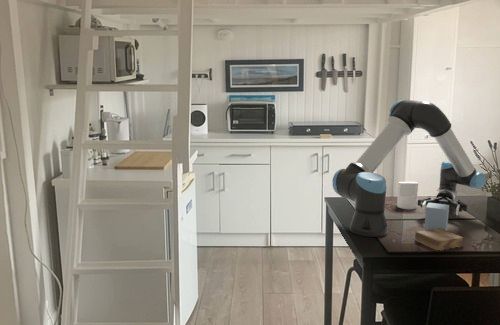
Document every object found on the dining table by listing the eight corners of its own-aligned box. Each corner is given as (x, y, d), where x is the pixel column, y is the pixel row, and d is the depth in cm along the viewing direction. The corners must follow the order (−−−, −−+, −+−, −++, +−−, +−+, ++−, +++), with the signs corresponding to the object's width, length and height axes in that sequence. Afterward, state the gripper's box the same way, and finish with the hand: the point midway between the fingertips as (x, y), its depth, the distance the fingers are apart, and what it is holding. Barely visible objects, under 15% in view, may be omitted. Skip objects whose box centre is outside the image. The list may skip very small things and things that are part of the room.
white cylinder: (412, 204, 241) (414, 180, 239) (419, 209, 233) (421, 184, 230) (394, 204, 241) (395, 180, 239) (400, 209, 232) (402, 184, 230)
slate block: (445, 236, 194) (447, 209, 192) (423, 233, 198) (425, 207, 196) (447, 230, 201) (449, 204, 199) (426, 227, 205) (428, 202, 203)
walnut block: (437, 251, 178) (438, 241, 178) (414, 241, 189) (415, 231, 188) (462, 247, 183) (463, 237, 182) (438, 237, 194) (439, 228, 193)
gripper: (474, 209, 220) (471, 222, 202) (416, 202, 232) (408, 214, 213) (475, 193, 219) (472, 205, 200) (417, 187, 230) (409, 197, 212)
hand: (439, 209), depth 207 cm, fingers open, 13 cm apart
